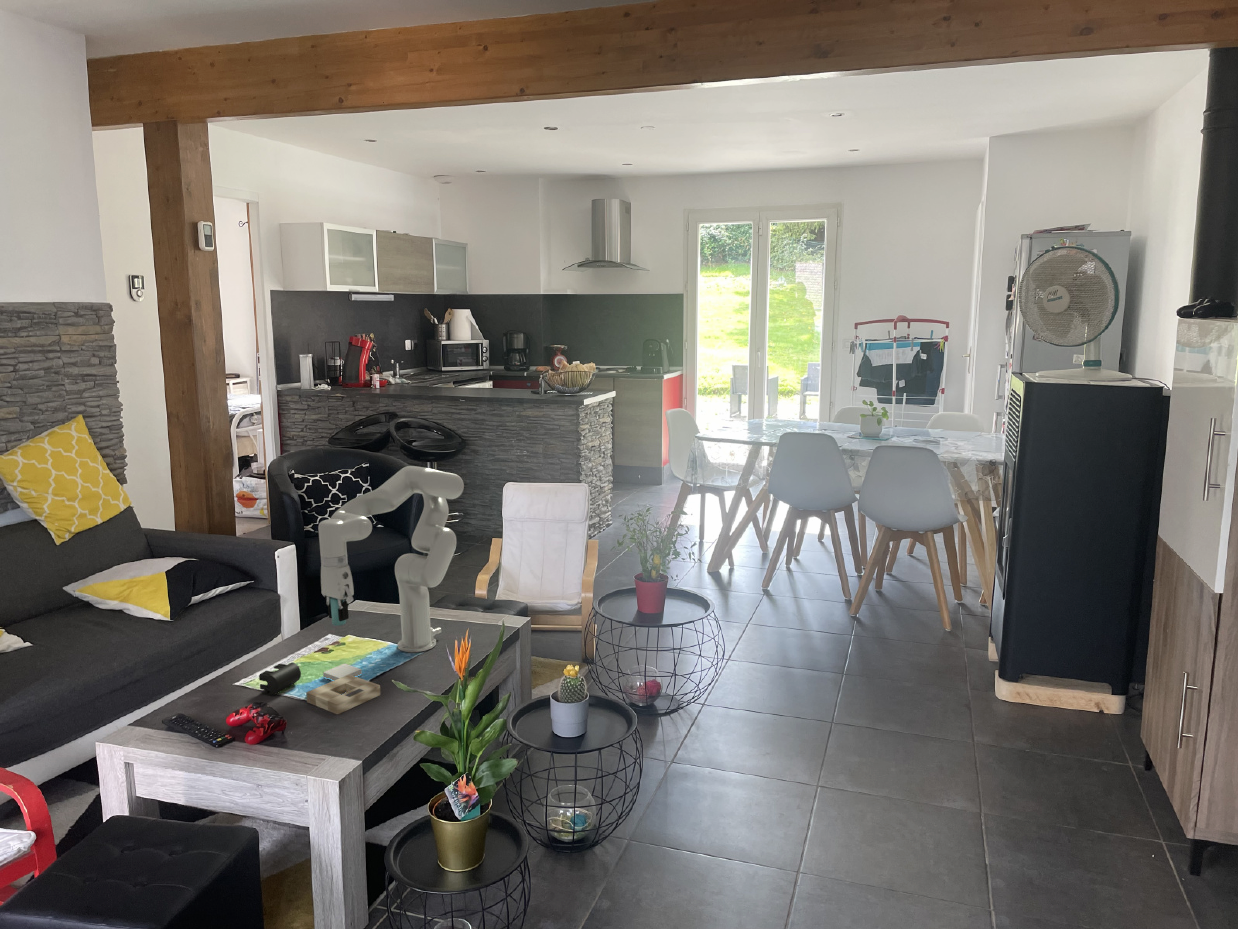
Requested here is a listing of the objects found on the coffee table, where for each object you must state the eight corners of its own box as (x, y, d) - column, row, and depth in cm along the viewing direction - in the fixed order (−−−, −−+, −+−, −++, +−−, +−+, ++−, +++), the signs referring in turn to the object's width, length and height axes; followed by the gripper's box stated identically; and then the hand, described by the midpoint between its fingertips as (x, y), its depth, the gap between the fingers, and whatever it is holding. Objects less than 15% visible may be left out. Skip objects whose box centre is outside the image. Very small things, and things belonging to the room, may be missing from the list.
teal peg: (340, 620, 268) (338, 595, 267) (348, 622, 266) (346, 597, 265) (329, 624, 265) (327, 598, 264) (337, 626, 263) (335, 601, 261)
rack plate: (349, 683, 264) (349, 674, 263) (380, 695, 256) (379, 685, 255) (306, 702, 251) (306, 692, 251) (337, 714, 243) (336, 704, 243)
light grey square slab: (345, 669, 274) (344, 663, 274) (361, 675, 269) (361, 669, 269) (323, 678, 268) (323, 672, 267) (340, 684, 263) (339, 678, 263)
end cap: (278, 698, 254) (276, 676, 253) (259, 694, 257) (257, 673, 256) (302, 684, 264) (300, 663, 262) (283, 681, 266) (281, 660, 265)
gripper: (362, 561, 260) (366, 620, 264) (327, 553, 270) (331, 609, 273) (341, 568, 254) (346, 627, 258) (306, 559, 264) (311, 617, 267)
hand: (338, 617), depth 265 cm, fingers closed on teal peg, 4 cm apart
